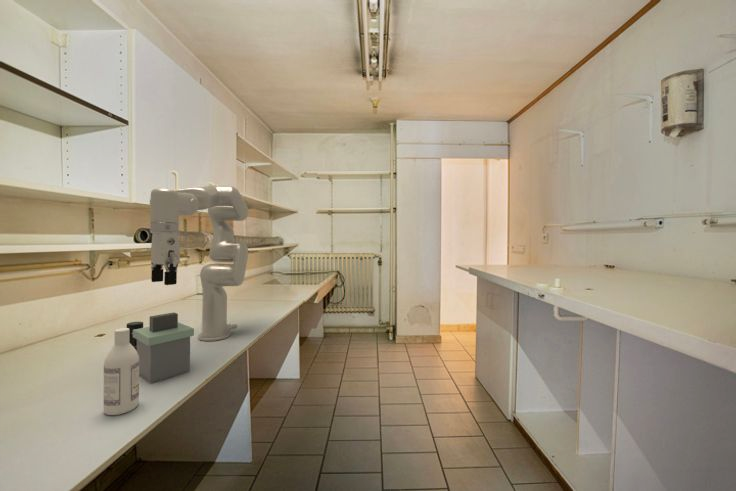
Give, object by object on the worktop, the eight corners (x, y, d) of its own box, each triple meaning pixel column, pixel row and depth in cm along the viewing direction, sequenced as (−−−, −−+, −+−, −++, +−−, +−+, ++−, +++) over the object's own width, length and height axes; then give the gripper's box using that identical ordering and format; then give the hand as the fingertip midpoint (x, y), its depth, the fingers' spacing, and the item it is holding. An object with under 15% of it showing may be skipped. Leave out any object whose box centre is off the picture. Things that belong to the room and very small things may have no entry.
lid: (176, 328, 107) (176, 308, 107) (193, 335, 100) (194, 314, 100) (132, 337, 97) (132, 315, 97) (148, 346, 90) (148, 322, 90)
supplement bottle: (133, 361, 107) (133, 326, 107) (117, 359, 108) (117, 324, 108) (150, 353, 114) (151, 321, 113) (135, 352, 115) (135, 319, 115)
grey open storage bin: (174, 362, 106) (175, 324, 106) (189, 371, 100) (190, 331, 100) (136, 373, 98) (136, 332, 97) (150, 383, 91) (150, 339, 91)
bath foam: (134, 398, 83) (135, 323, 82) (142, 408, 78) (142, 329, 78) (100, 408, 77) (101, 329, 77) (106, 419, 73) (107, 335, 72)
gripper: (190, 229, 96) (189, 284, 96) (166, 229, 106) (165, 279, 106) (162, 228, 90) (161, 287, 90) (140, 228, 100) (139, 281, 100)
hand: (163, 283), depth 98 cm, fingers open, 9 cm apart
